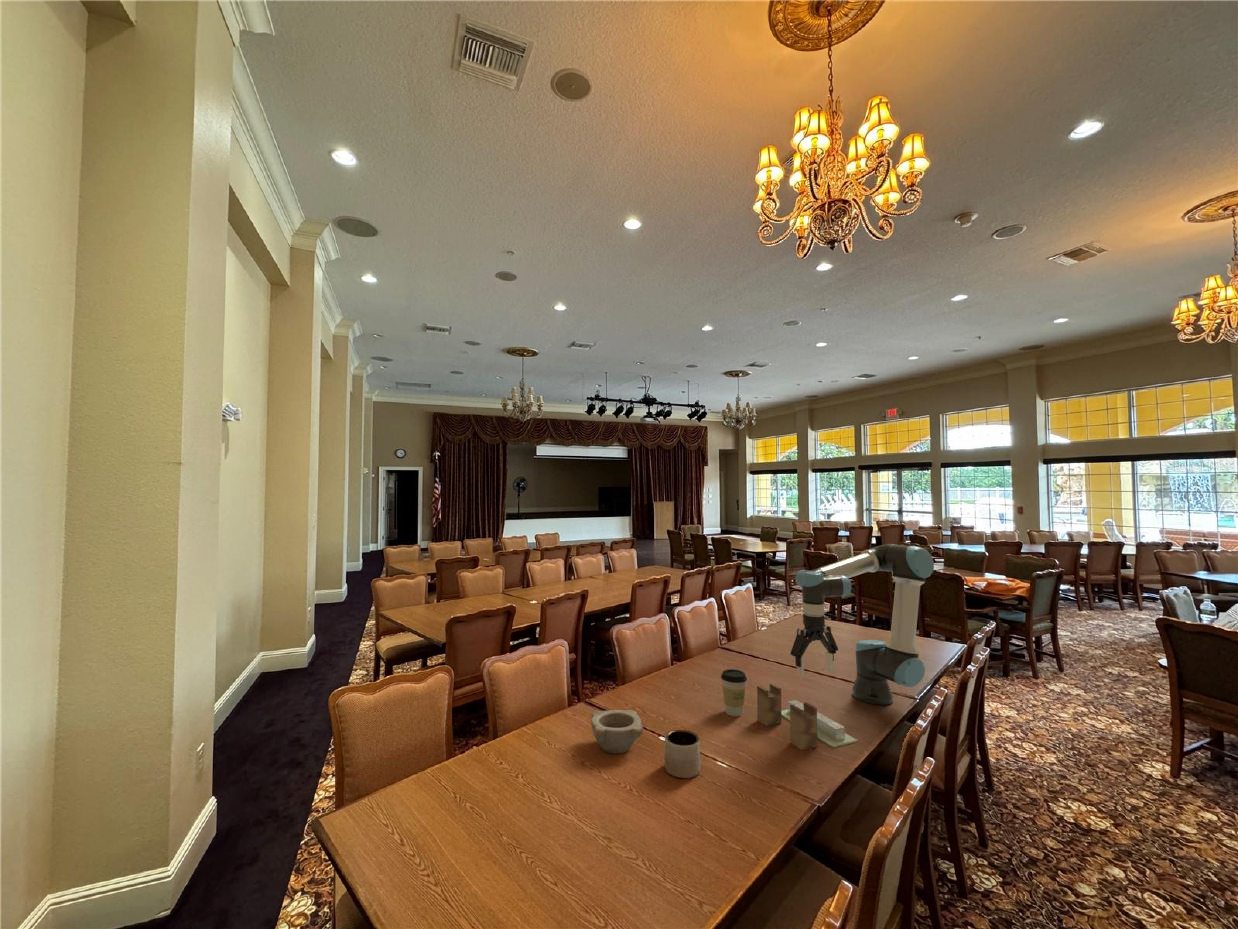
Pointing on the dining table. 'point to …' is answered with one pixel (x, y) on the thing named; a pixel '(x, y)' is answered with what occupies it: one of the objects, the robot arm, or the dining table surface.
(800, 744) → the post
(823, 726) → the rail
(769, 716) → the post
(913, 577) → the robot arm
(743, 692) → the coffee cup
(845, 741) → the mat
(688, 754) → the planter
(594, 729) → the mortar
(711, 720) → the dining table surface
